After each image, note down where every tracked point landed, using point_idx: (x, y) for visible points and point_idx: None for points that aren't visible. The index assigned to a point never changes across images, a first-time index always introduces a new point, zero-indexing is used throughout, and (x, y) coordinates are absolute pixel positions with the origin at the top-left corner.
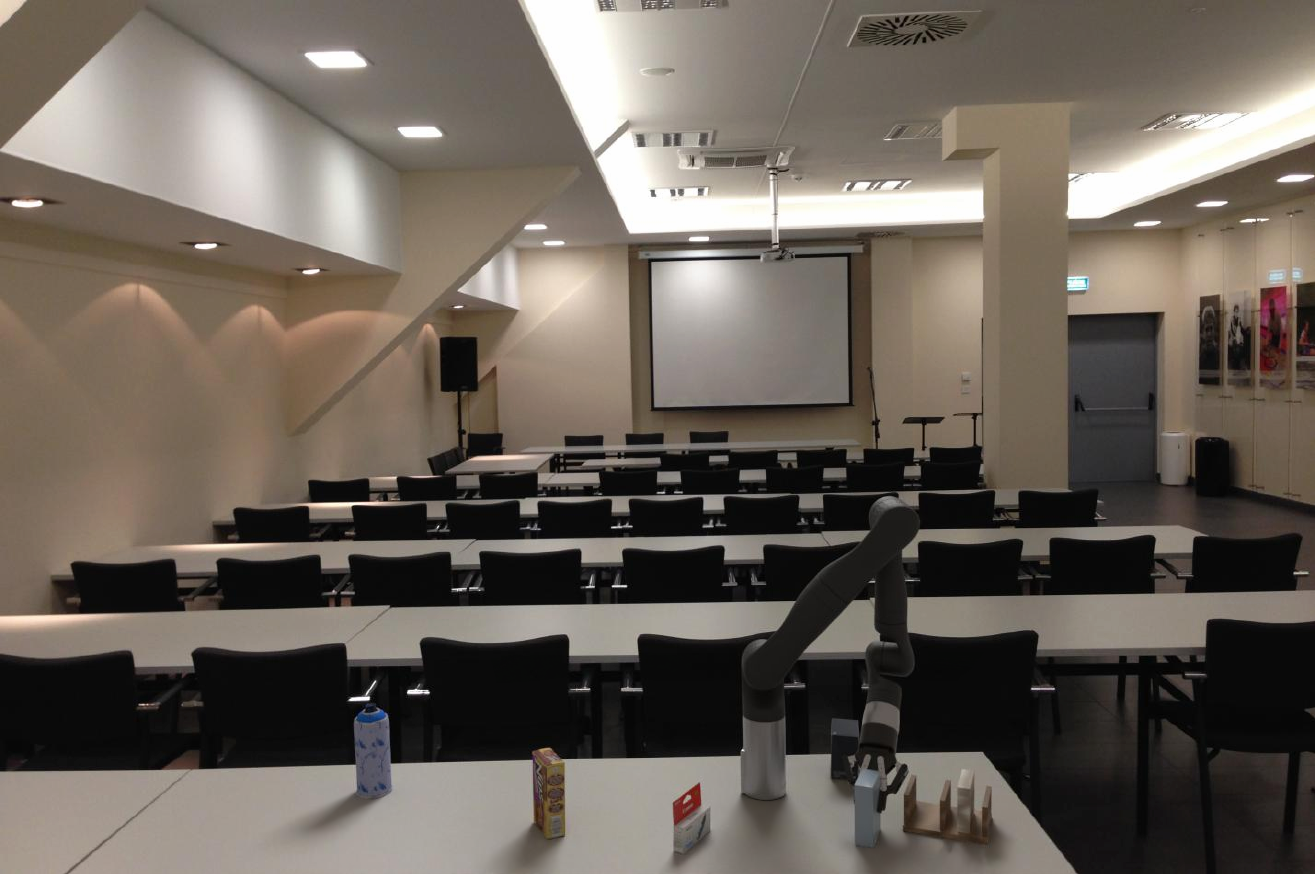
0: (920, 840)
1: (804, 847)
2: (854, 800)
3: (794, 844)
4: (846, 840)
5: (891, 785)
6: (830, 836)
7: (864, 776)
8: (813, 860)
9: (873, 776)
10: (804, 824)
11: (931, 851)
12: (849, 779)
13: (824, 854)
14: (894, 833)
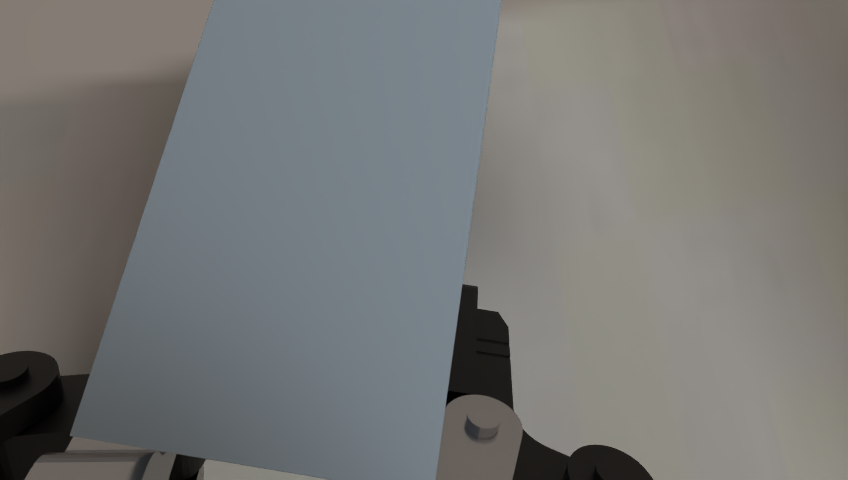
0: (58, 328)
1: (719, 118)
2: (500, 328)
3: (779, 137)
4: (508, 236)
5: (20, 393)
6: (607, 264)
7: (388, 139)
8: (643, 12)
9: (230, 167)
10: (799, 387)
11: (21, 209)
12: (624, 471)
13: (602, 72)
14: None
